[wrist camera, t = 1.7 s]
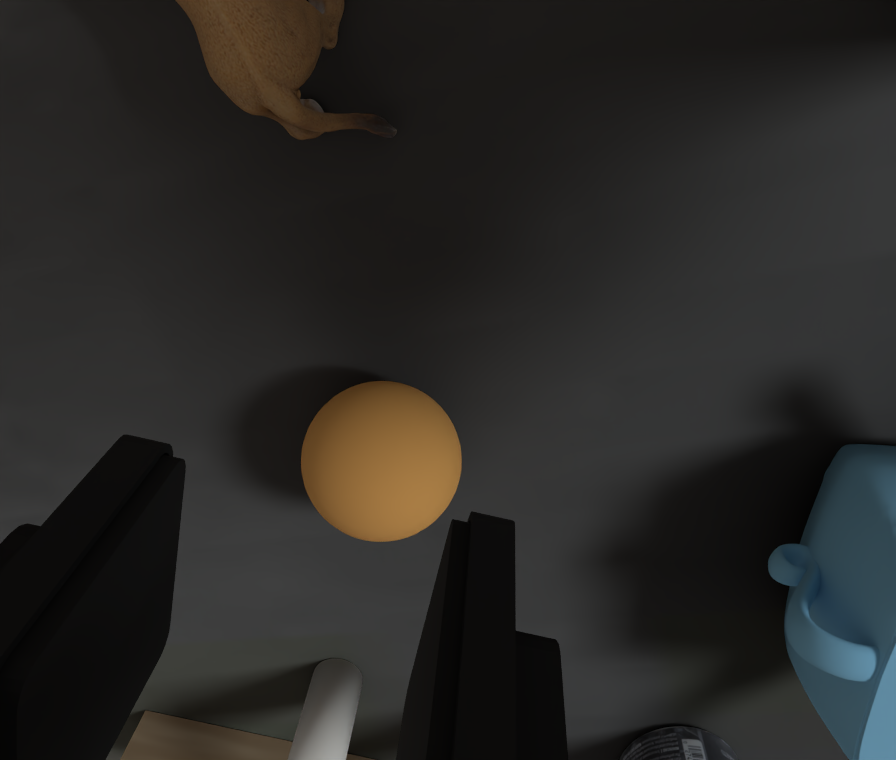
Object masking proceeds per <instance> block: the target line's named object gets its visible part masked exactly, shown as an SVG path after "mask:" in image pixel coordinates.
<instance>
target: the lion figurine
mask: <svg viewBox="0 0 896 760" xmlns="http://www.w3.org/2000/svg"><path fill="white" fill-rule="evenodd" d="M175 1H176V2H177V3H178V4H179V5H180V6H181V7H182V8H183V10H184V11H185V12H186V14H187V15H188V17H189V18H190V20H191V22H192V24H193V26H194V28H195V31H196V34H197V37H198V40H199V43H200V47H201V50H202V54H203V57H204V60H205V64H206V67H207V69H208V72H209V74H210V76H211V78H212V79H213V81H214V82H215V83H216V84H217V85H218V86H219V87H220V89H221V90H222V91H223V92H224V93H225V94H226V95H227V96H228V97H229V98H230V99H231V100H232V101H233V102H234V103H235V104H236V105H237V106H238V107H239V108H241V109H242V110H244V111H245V112H247V113H250V114H252V115H259V116H265V117H268V118H271V119H273V120H275V121H277V122H279V123H280V124H281V125H282V126H283V127H284V128H285V129H286V130H287V131H288V133H289V134H290V135H291V136H293V137H294V138H296V139H299V140H305V139H313V138H316V137H318V136H320V135H321V134H323V133H324V132H332V131H337V130H342V129H364V130H368V131H369V132H371V133H372V134H377V135H380V136H382V137H386V138H391V137H394V135H395V134H396V133H397V130H396V128H394V127H393V126H392V125H391V124H389V123H388V121H386V120H385V119H384V118H382V117H380V116H377V115H375V114H362V113H347V114H334V113H324V111H323V109H322V108H321V106H320V105H319V104H318V103H317V102H316V101H314V100H313V99H300V97H301V94H300V90H299V87H301V86H302V85H303V84H304V83H305V82H306V80H307V79H308V78H309V77H310V75H311V74H312V72H313V70H314V68H315V66H316V63H317V61H318V58H319V54H320V51H321V48H322V47H324V48H325V49H328V50H329V49H332V48H334V47H335V46H336V44H337V40H338V28H339V23H340V20H341V18H342V15H343V11H344V0H309V2H308V1H306V0H175Z"/></svg>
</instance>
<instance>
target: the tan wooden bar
mask: <svg viewBox="0 0 896 760" xmlns="http://www.w3.org/2000/svg"><path fill="white" fill-rule="evenodd" d="M292 743H293V742H291V741H286V740H281V739H277V738H272V737H267V736H263V735H258V734H254V733H249V732H244V731H240V730H235V729H230V728H226V727H221V726H216V725H212V724H207V723H202V722H198V721H193V720H188V719H184V718H179V717H174V716H170V715H165V714H160V713H156V712H151V711H146V710H145V712H144V714H143V716H142V718H141V720H140V722H139V724H138V726H137V728H136V730H135V732H134V734H133V736H132V738H131V740H130V742H129V743H128V745H127V747H126V749H125V751H124V753H123V755H122V757H121V759H120V760H288V757H289V753H290V750H291V746H292ZM346 760H375V759H370V758H365V757H361V756H356V755H351V754H347V757H346Z"/></svg>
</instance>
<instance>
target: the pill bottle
mask: <svg viewBox="0 0 896 760" xmlns="http://www.w3.org/2000/svg"><path fill="white" fill-rule="evenodd" d="M619 760H738V757H737V755H736V754H735V752H734V751H733V749H732V748H731V747H730V746H729V745H728V744H727V743H726V742H724V741H723V740H722V739H721V738H720V737H718V736H716V735H714V734H712V733H710V732H707V731H705V730H702V729H698V728H693V727H683V726H677V727H667V728H661V729H657V730H654V731H651V732H649V733H646V734H644V735H642V736H641V737H639V738H637V739H636V740H634V741H633V742H632V743H631V744H630V745H629V746H628V747H627V748H626V749H625V750H624V752H623V753H622V755H621V757H620V759H619Z"/></svg>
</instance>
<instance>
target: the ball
mask: <svg viewBox="0 0 896 760" xmlns="http://www.w3.org/2000/svg"><path fill="white" fill-rule="evenodd" d="M461 462H462V458H461V447H460V443H459V439H458V436H457V432H456V430H455V428H454V426H453V423H452V422H451V420H450V419H449V417H448V415H447V414H446V413H445V411H444V410H443V409H442V408H441V406H440V405H439V404H437V403H436V402H435V401H434V400H433V399H432V398H431V397H429V396H428V395H427V394H425V393H423V392H422V391H420V390H418V389H416V388H413V387H411V386H409V385H405V384H402V383H397V382H391V381H372V382H366V383H361V384H358V385H355V386H353V387H350V388H348V389H346V390H344V391H342V392H340V393H339V394H337V395H336V396H334V397H333V398H332V399H331V400H329V401H328V402H327V403H326V404H325V405H324V406H323V407H322V408H321V409H320V411H319V412H318V413H317V414H316V416H315V417H314V419H313V421H312V422H311V424H310V426H309V428H308V430H307V433H306V435H305V439H304V442H303V446H302V454H301V472H302V476H303V481H304V486H305V488H306V491H307V494H308V496H309V498H310V499H311V501H312V503H313V505H314V506H315V508H316V509H317V511H318V512H319V513H320V514H321V515H322V517H323V518H324V519H325V520H327V521H328V522H329V523H330V524H331V525H333V526H334V527H335V528H337V529H338V530H340V531H342V532H343V533H345V534H347V535H350V536H352V537H355V538H358V539H362V540H367V541H375V542H386V541H394V540H400V539H403V538H407V537H409V536H412V535H414V534H416V533H418V532H420V531H421V530H423V529H425V528H427V527H428V526H429V525H431V524H432V523H433V522H434V521H435V520H436V519H437V518H438V517H439V516H440V515H441V514H442V513H443V512H444V511H445V509H446V508H447V506H448V505H449V503H450V501H451V500H452V498H453V496H454V494H455V492H456V489H457V486H458V483H459V479H460V474H461Z"/></svg>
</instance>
